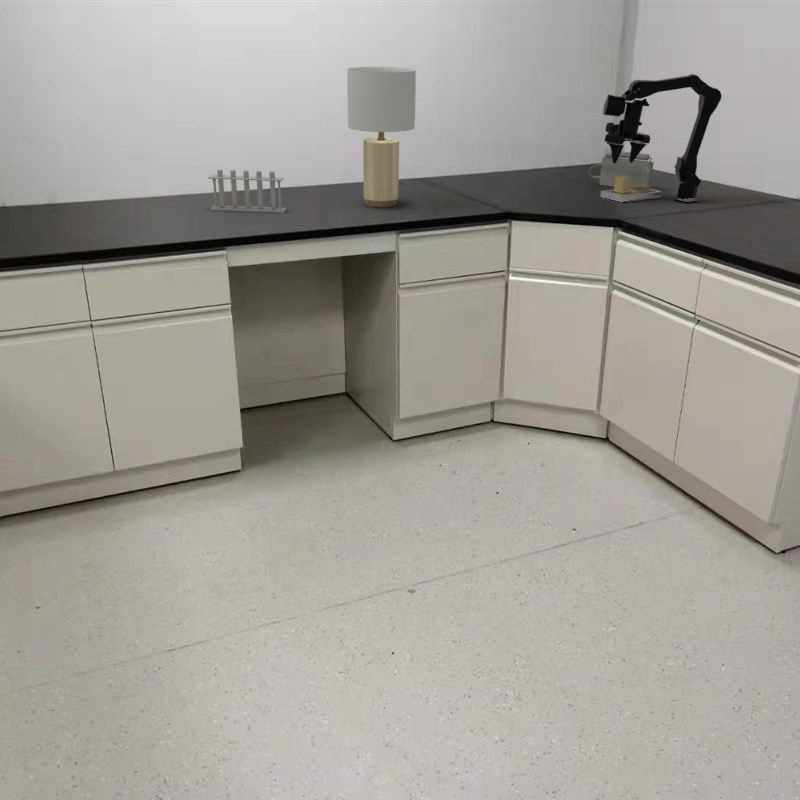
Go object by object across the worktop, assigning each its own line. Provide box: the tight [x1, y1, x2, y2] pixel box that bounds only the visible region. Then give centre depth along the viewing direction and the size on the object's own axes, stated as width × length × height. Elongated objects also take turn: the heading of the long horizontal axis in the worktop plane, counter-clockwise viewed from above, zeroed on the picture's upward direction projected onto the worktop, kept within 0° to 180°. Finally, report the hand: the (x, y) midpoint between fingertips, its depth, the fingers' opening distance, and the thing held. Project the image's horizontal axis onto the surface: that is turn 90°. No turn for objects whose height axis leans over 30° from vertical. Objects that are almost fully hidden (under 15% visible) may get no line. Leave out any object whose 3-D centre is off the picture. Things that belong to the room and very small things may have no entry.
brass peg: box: [613, 176, 631, 194], centre depth 305 cm, size 4×4×8 cm
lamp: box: [346, 66, 417, 209], centre depth 284 cm, size 23×23×44 cm
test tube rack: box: [207, 169, 287, 214], centre depth 280 cm, size 25×4×13 cm, turn 85°
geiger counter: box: [587, 148, 655, 189], centre depth 324 cm, size 14×6×25 cm
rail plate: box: [600, 186, 663, 202], centre depth 309 cm, size 20×11×3 cm, turn 119°
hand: (622, 162), depth 301 cm, fingers open, 9 cm apart
